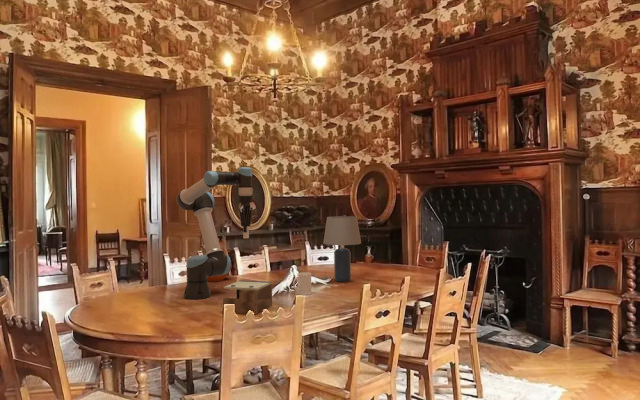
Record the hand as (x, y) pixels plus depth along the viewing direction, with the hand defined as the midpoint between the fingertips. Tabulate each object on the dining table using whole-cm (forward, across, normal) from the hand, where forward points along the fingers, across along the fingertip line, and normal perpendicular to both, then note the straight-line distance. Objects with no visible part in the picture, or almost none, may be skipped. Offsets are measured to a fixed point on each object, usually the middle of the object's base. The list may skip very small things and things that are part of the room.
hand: (246, 238), depth 283 cm
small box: (+35, -20, -9) cm, 41 cm away
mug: (+35, +24, -24) cm, 48 cm away
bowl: (+35, +57, +52) cm, 85 cm away
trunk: (+34, -20, -10) cm, 41 cm away
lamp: (+35, +72, -36) cm, 88 cm away
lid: (+23, -19, -10) cm, 31 cm away
